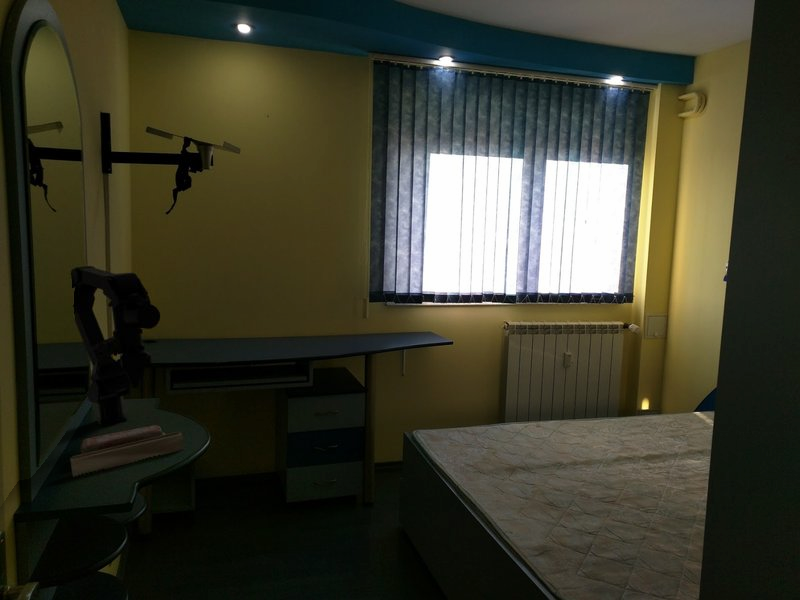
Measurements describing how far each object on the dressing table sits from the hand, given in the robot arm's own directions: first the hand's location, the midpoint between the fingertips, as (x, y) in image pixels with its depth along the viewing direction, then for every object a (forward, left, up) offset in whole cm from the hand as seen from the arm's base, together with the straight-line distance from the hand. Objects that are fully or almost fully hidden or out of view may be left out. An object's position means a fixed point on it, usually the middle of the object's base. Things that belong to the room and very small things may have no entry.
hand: (135, 387), depth 144 cm
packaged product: (+12, -5, -12) cm, 18 cm away
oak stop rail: (+19, -5, -11) cm, 23 cm away
